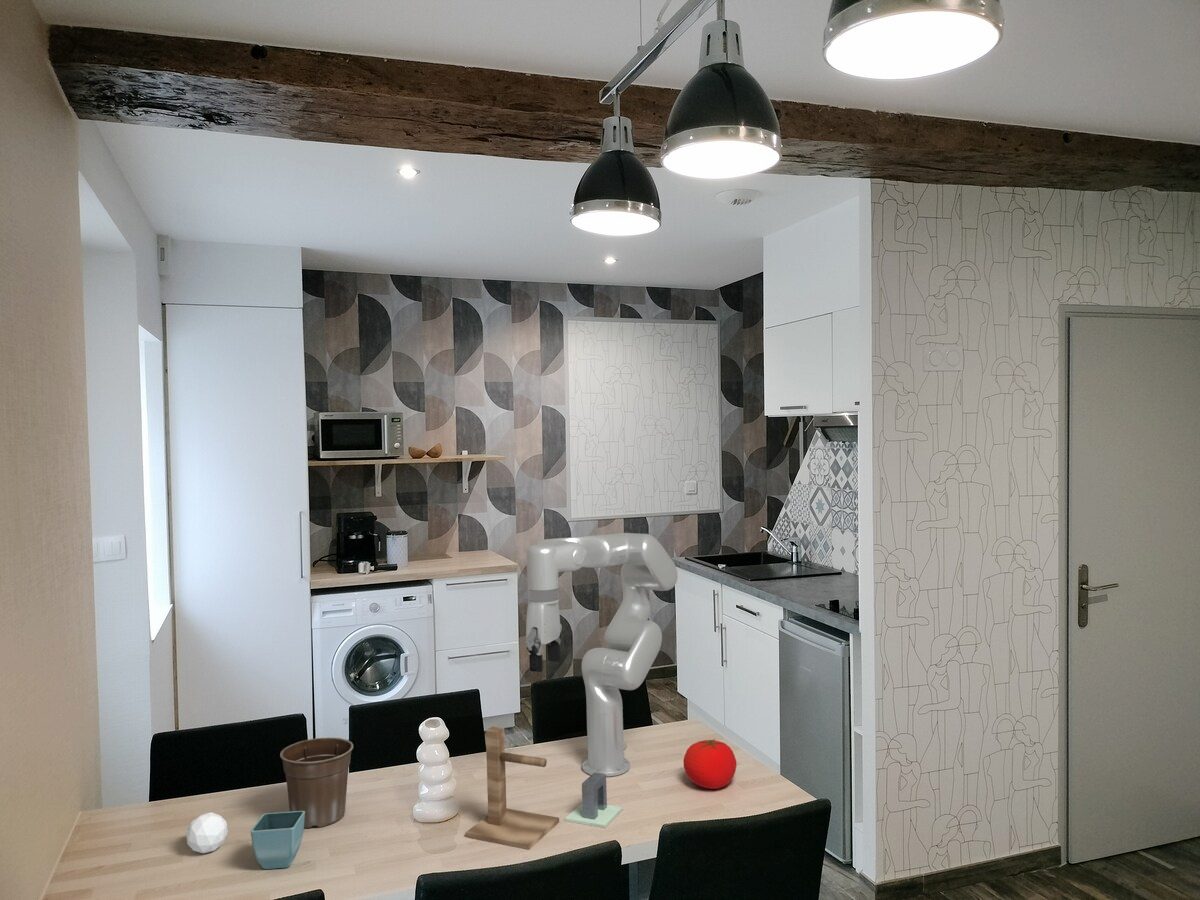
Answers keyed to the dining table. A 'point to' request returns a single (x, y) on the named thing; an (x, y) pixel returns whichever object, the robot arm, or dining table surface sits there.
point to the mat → (600, 821)
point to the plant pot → (317, 778)
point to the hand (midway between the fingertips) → (545, 666)
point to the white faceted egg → (206, 832)
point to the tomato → (710, 763)
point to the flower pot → (277, 838)
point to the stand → (500, 820)
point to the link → (594, 795)
